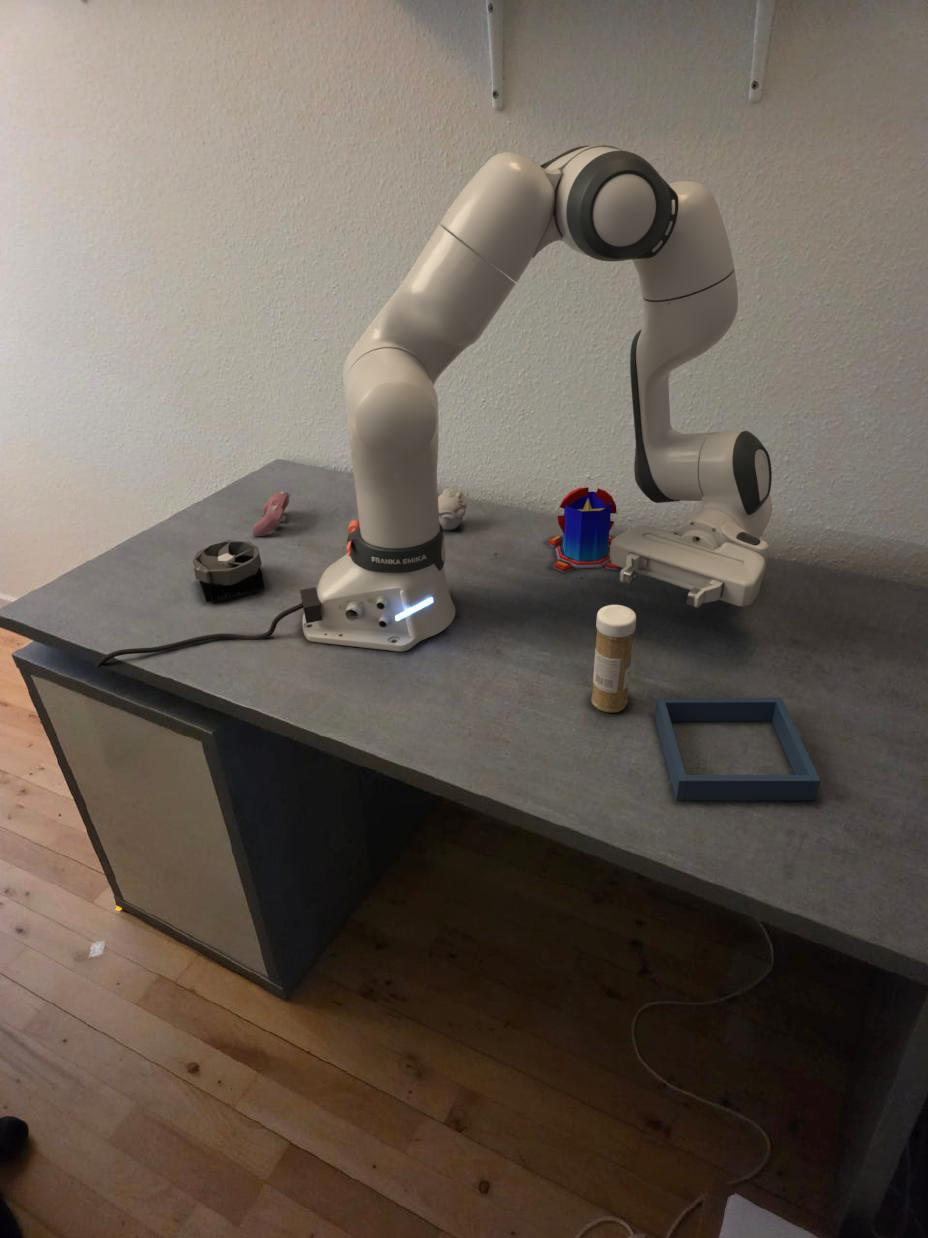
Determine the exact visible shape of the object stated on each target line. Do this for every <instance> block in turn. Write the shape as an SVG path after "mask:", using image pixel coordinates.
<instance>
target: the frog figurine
mask: <svg viewBox="0 0 928 1238" xmlns="http://www.w3.org/2000/svg"><path fill="white" fill-rule="evenodd" d="M438 506H439V523H440V524H441V525H442V528H443V531H444V530H445V531H452V530H455V529H456V528H457V527H459V526H460V524H461V523H462V521H463V520H464V516H465V514H466V509H467V507H468V501H467V498H466V496H465V494H464V493H463V492H461V491H460V490H457V489H451V488H445V489H443V491H442V493H440V495H438Z"/></svg>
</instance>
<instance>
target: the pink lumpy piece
mask: <svg viewBox="0 0 928 1238" xmlns="http://www.w3.org/2000/svg"><path fill="white" fill-rule="evenodd" d="M290 497H291V493H288V492H286V491H280V490H278V491H277V492H275V493H274V494H272V496H270V498H269V500H268V501H267V502H265V504H264V506H263V507H262V513H263V514H264V516H263V517H261V519H260V520H258V521H257V522H256V523H255V524H254V525H253V527H252V530H251V531H252V534H253V536H255V537H263V536H266V535H268V534H270V533H271V532H272V531H273V530H275V531H276V530H277V529H278V526H279V524H280V523H283V522H285V520H286V515H285V514H284V512H285V510H286V508H287V507H288V505H289V503H290Z"/></svg>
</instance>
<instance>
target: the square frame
mask: <svg viewBox="0 0 928 1238" xmlns="http://www.w3.org/2000/svg"><path fill="white" fill-rule="evenodd" d="M654 720H655V724H656V728H657V731H658V736H659V739H660V743H661V747H662V752H663V755H664V759H665V763H666V767H667V771H668V775H669V779H670V783H671V786H672V790H673V795H674V798H675V801H815V800H816V797H817V794H818V790H819V787H820V785H821V778H820V776H819V775H818V772H817V770H816V767H815V765H814V764H813V762H812V759H811V757H810V756H809V753H808V751H807V749H806V746H805V744H804V742H803V740H802V738H801V736H800V734H799V732H798V730H797V727H796V726H795V723H794V722H793V719H792V718H791V715H790V712H789V711H788V709H787V707H786V705H785V703H784V700H783V698H782V697H777V696H775V697H774V696H773V697H770V696H769V697H768V696H767V697H765V696H764V697H761V696H760V697H755V696H753V697H751V696H750V697H657V698H656V703H655V709H654ZM672 722H771V723H772V725H773V728H774V730H775V732H776V735H777V737H778V739H779V742H780V743H781V746H782V748H783V750H784V753H785V755H786V757H787V760H788V762H789V764H790V766H791V769H792V771H793V774H687V773H686V770H685V767H684V763H683V759H682V756H681V752H680V749H679V745H678V742H677V738H676V734H675V731H674V728H673V723H672Z"/></svg>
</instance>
